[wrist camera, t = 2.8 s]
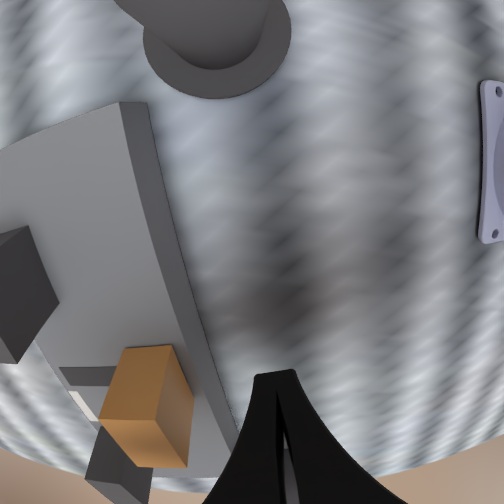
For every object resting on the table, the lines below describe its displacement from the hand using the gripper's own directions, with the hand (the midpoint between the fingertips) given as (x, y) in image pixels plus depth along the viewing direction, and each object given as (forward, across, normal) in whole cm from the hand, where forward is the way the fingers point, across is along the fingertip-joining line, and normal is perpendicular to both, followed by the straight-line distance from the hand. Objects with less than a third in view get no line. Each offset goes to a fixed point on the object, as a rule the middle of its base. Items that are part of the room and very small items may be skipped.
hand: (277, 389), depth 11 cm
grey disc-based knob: (+4, 0, -12) cm, 13 cm away
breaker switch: (+1, +5, 0) cm, 5 cm away
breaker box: (+4, +7, 0) cm, 8 cm away
